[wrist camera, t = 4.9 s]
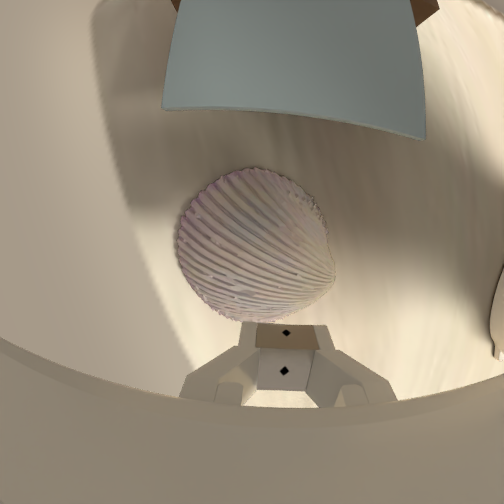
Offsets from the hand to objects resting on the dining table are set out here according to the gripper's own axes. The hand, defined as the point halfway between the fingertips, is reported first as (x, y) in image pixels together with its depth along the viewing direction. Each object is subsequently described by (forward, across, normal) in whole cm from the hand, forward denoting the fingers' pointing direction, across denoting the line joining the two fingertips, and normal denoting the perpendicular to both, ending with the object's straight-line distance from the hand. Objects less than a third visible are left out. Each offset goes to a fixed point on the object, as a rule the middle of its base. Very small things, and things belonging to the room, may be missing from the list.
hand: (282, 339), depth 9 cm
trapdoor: (+5, 0, -13) cm, 14 cm away
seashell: (+9, +1, -1) cm, 9 cm away
